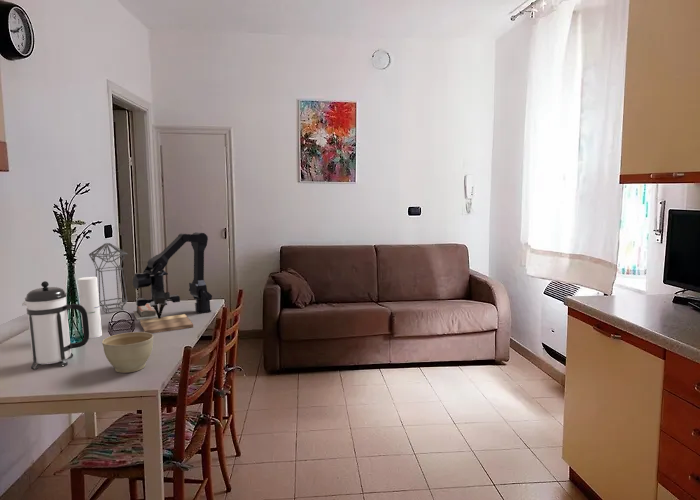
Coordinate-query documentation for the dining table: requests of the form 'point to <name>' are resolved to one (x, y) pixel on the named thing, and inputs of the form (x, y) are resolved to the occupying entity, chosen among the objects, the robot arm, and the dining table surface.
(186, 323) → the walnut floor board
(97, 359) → the dining table surface
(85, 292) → the cylindrical container
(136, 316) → the packaged product
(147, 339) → the planter bowl
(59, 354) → the coffee press
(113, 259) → the geometric lantern
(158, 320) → the oak plank
